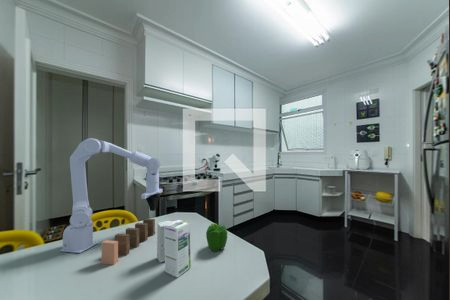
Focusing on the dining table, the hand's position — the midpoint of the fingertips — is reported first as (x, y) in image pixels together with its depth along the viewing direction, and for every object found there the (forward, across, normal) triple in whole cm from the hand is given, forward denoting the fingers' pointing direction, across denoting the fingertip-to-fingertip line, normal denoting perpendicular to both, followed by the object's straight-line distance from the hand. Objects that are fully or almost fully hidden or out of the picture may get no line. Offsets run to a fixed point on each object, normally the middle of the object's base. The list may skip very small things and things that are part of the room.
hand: (152, 210), depth 86 cm
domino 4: (+10, -9, 0) cm, 14 cm away
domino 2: (+10, -20, 0) cm, 23 cm away
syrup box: (+10, -26, -26) cm, 38 cm away
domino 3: (+10, -15, 0) cm, 18 cm away
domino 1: (+10, -26, 0) cm, 28 cm away
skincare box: (+10, -20, -18) cm, 29 cm away
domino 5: (+10, -4, 0) cm, 11 cm away
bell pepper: (+10, -10, -34) cm, 37 cm away
